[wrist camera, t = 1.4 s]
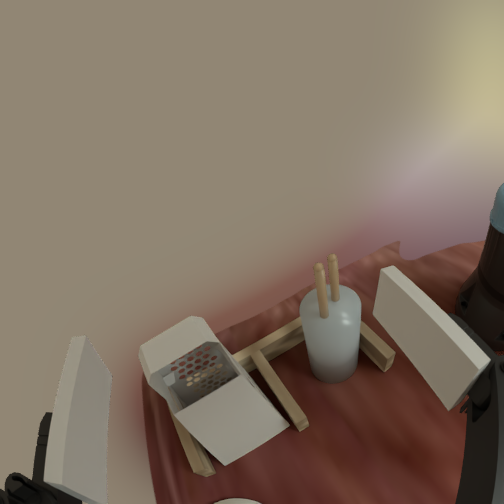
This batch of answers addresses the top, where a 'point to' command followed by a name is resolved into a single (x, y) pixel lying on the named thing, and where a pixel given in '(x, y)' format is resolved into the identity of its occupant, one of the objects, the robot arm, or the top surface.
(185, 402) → the grater
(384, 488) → the top surface
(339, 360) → the utensil crock
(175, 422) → the rack
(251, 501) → the plate
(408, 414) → the top surface
